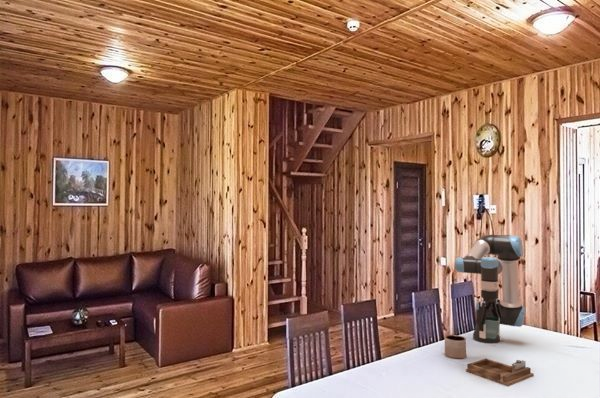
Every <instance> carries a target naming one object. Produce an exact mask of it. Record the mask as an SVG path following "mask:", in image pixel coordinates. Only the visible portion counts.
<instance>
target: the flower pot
mask: <svg viewBox="0 0 600 398" xmlns="http://www.w3.org/2000/svg"><path fill="white" fill-rule="evenodd" d="M482 322H483V321H482ZM499 323H500V318H498V317H489V316H487V318H486V320H485V323H484V324H486V338H493V339H495V338H496V337H497V334H498V331H499Z"/></svg>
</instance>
